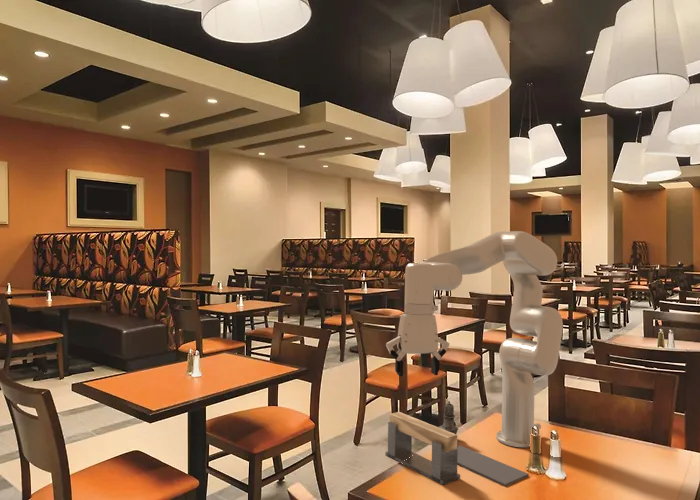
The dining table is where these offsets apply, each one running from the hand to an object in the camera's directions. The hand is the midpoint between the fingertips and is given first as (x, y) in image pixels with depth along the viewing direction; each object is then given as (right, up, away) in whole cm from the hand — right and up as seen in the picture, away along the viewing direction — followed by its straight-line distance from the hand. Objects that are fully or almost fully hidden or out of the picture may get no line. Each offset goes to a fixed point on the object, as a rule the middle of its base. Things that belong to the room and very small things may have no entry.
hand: (417, 374), depth 133 cm
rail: (+2, -18, +4) cm, 18 cm away
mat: (+18, -26, +5) cm, 32 cm away
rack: (+2, -26, +4) cm, 26 cm away
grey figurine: (+13, -26, +24) cm, 37 cm away
